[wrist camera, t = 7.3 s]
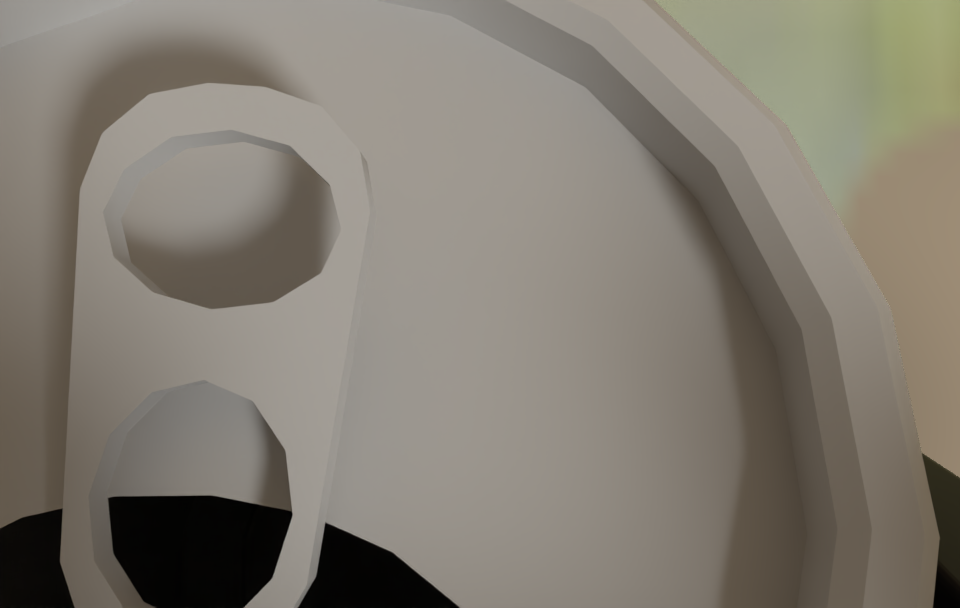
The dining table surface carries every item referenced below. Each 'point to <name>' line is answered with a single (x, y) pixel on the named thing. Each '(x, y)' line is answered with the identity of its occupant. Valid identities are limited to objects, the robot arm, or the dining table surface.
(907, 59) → the dining table surface
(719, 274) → the can
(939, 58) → the dining table surface
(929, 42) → the dining table surface
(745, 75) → the dining table surface
